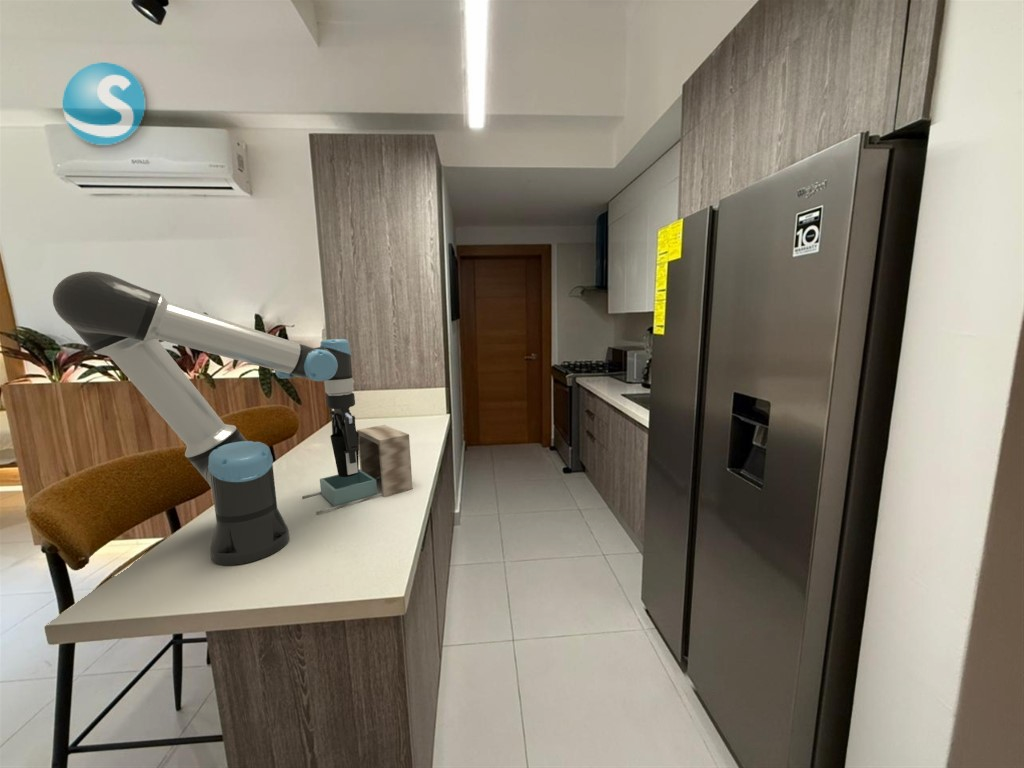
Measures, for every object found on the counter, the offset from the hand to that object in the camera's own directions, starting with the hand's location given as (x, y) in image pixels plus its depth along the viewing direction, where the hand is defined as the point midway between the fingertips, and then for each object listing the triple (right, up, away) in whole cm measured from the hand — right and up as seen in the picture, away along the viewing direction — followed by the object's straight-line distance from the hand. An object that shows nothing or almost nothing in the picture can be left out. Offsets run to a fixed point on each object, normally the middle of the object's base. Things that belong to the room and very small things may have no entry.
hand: (347, 469), depth 123 cm
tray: (0, -8, +1) cm, 8 cm away
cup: (0, -1, 0) cm, 1 cm away
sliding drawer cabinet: (+2, -7, +2) cm, 8 cm away
